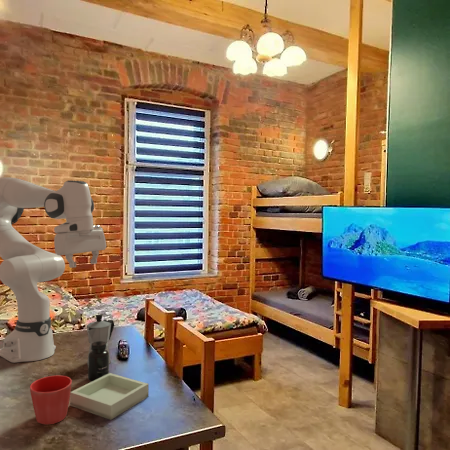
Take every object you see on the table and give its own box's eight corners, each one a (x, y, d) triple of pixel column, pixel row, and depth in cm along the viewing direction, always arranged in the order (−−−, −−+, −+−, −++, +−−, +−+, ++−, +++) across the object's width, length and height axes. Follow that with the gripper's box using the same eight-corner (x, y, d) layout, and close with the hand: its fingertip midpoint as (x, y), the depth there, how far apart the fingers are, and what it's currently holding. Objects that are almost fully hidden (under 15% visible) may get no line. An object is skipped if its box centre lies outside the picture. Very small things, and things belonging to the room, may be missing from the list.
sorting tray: (70, 405, 122) (70, 392, 122) (109, 385, 136) (109, 372, 136) (110, 419, 114) (110, 405, 114) (148, 396, 128) (148, 383, 128)
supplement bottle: (102, 383, 137) (102, 347, 136) (83, 381, 138) (83, 345, 138) (112, 375, 144) (112, 340, 143) (94, 373, 145) (94, 339, 144)
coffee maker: (97, 371, 147) (97, 320, 146) (77, 367, 150) (77, 317, 149) (122, 356, 161) (122, 310, 160) (104, 353, 164) (104, 308, 163)
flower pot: (29, 431, 108) (29, 395, 107) (30, 412, 118) (30, 378, 117) (73, 423, 112) (72, 388, 111) (70, 405, 122) (70, 372, 122)
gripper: (96, 225, 156) (99, 262, 156) (49, 228, 138) (53, 269, 138) (108, 224, 153) (111, 261, 153) (62, 226, 135) (66, 269, 135)
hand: (83, 265), depth 146 cm, fingers open, 8 cm apart
